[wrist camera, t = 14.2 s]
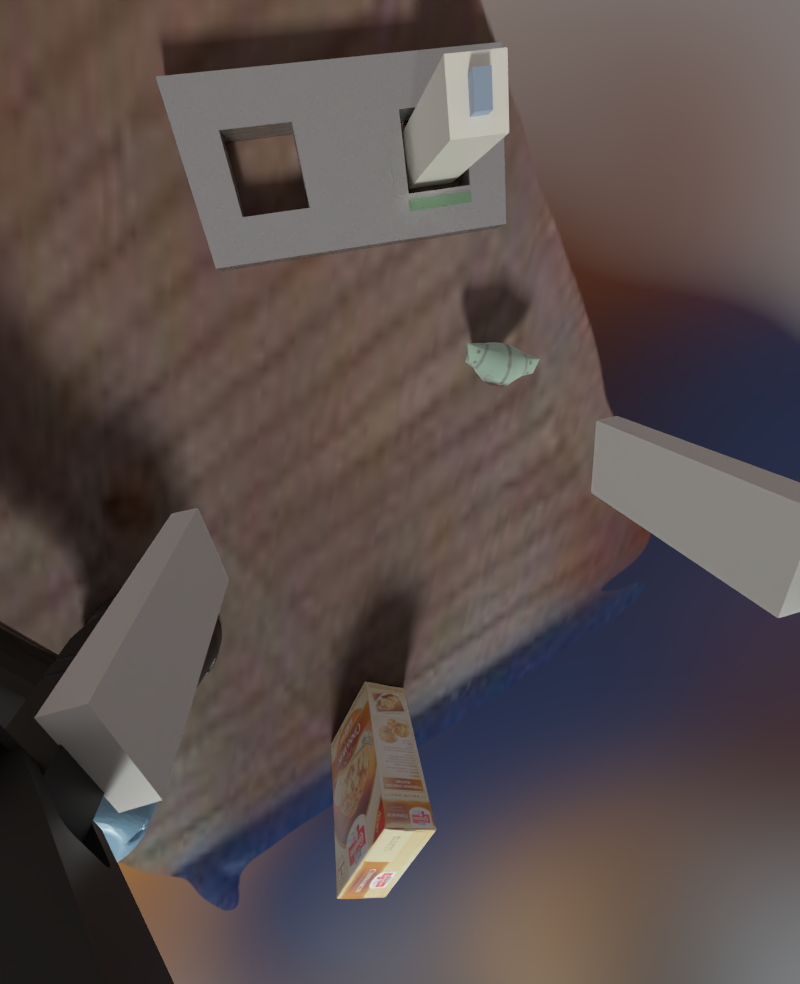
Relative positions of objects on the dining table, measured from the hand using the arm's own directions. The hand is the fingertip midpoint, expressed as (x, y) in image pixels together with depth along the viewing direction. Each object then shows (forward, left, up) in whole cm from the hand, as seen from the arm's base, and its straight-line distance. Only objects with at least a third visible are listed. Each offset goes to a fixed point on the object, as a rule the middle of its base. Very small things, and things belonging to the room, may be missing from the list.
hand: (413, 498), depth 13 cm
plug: (+11, +16, -32) cm, 37 cm away
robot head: (+15, -2, -32) cm, 35 cm away
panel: (+4, +16, -32) cm, 36 cm away
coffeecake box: (-8, -54, -32) cm, 63 cm away
